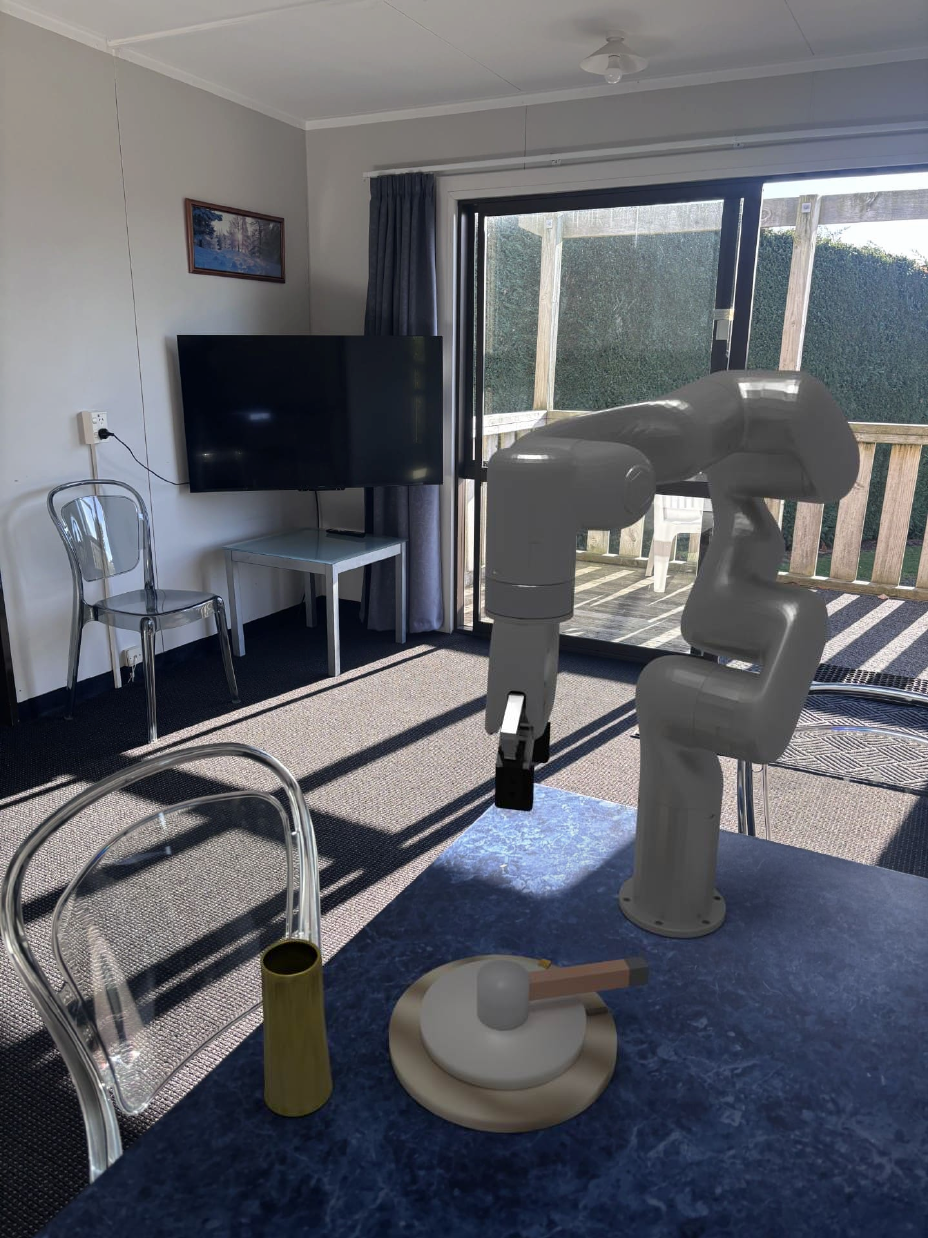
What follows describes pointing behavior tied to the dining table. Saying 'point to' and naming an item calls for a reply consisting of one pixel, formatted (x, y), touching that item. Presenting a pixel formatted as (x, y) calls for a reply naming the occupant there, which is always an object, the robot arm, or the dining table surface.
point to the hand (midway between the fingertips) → (523, 783)
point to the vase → (294, 1028)
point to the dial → (515, 1018)
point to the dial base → (500, 1105)
